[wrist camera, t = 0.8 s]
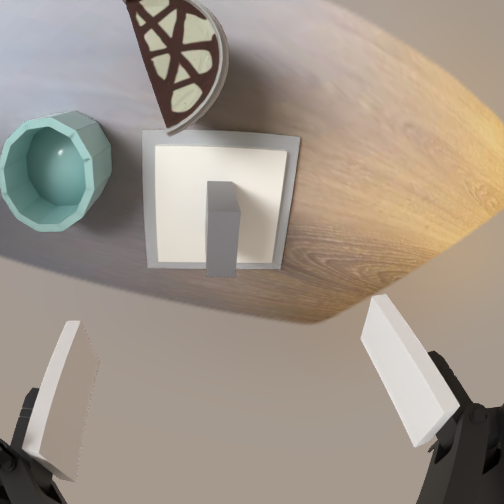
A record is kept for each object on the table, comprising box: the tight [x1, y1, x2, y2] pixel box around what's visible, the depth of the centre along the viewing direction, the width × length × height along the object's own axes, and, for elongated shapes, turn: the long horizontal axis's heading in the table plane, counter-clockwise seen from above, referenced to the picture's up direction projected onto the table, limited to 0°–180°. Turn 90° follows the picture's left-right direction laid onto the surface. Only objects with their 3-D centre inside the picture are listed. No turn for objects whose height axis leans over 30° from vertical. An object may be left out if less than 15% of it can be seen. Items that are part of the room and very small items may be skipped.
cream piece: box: [155, 144, 287, 277], centre depth 29 cm, size 13×13×9 cm
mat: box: [142, 129, 300, 269], centre depth 33 cm, size 16×16×1 cm
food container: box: [123, 0, 229, 137], centre depth 21 cm, size 12×6×10 cm, turn 15°
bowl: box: [0, 111, 112, 232], centre depth 25 cm, size 11×11×6 cm
